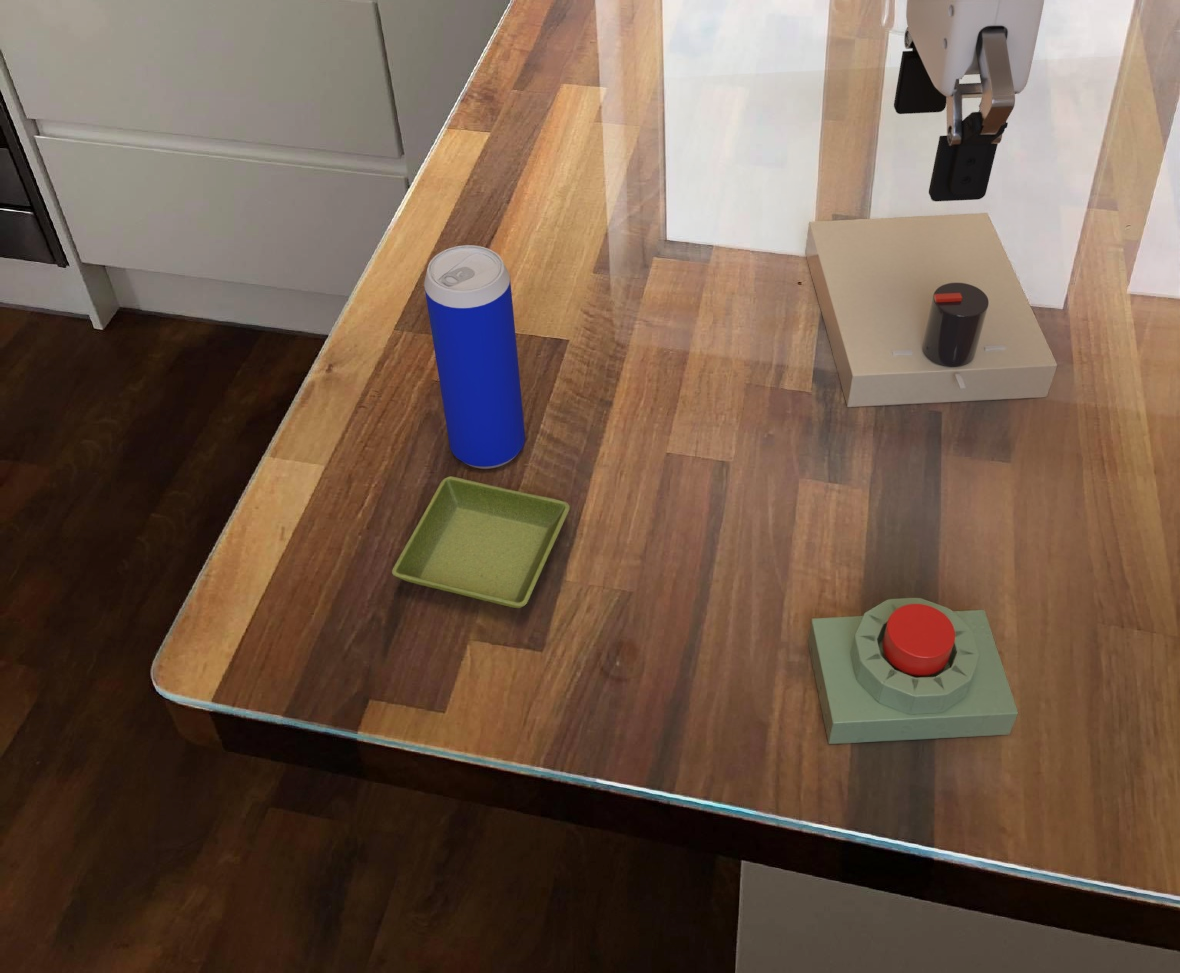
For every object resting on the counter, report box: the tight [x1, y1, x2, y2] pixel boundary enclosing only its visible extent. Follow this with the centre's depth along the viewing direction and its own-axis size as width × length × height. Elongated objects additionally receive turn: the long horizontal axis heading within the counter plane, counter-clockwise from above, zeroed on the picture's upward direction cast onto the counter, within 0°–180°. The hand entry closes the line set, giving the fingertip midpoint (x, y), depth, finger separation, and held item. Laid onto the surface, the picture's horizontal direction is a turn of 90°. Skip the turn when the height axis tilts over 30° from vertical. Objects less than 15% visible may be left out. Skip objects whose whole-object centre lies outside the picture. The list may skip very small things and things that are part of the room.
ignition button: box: [883, 604, 955, 676], centre depth 66 cm, size 4×4×2 cm
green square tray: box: [391, 475, 571, 609], centre depth 76 cm, size 9×9×2 cm
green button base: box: [807, 597, 1019, 745], centre depth 68 cm, size 10×7×4 cm
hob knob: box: [922, 283, 989, 367], centre depth 83 cm, size 4×4×5 cm
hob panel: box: [804, 212, 1058, 408], centre depth 90 cm, size 14×20×3 cm
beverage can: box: [423, 244, 526, 470], centre depth 78 cm, size 5×5×15 cm
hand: (936, 152), depth 75 cm, fingers open, 9 cm apart
